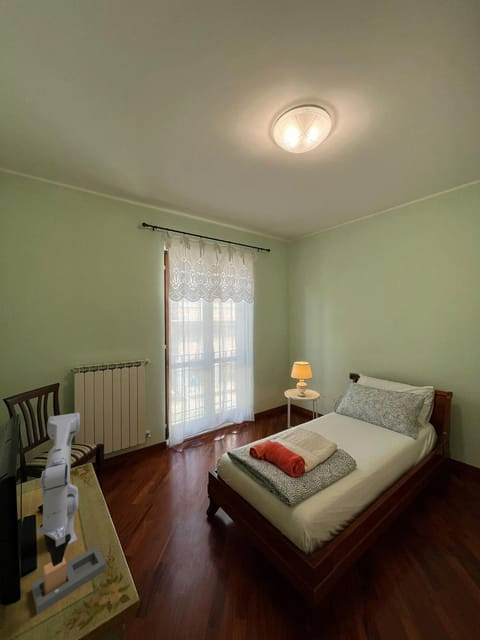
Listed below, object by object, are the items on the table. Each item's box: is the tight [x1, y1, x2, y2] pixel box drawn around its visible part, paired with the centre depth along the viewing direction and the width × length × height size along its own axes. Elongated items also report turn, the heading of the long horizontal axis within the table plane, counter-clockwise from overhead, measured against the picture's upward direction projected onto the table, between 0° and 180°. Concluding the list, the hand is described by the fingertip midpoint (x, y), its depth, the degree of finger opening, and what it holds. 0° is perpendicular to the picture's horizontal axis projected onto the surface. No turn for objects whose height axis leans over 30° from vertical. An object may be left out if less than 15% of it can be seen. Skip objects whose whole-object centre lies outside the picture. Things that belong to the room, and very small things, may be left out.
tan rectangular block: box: [43, 556, 67, 595], centre depth 73 cm, size 4×5×7 cm
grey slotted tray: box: [31, 545, 107, 616], centre depth 76 cm, size 9×17×3 cm, turn 136°
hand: (54, 555), depth 73 cm, fingers open, 7 cm apart
